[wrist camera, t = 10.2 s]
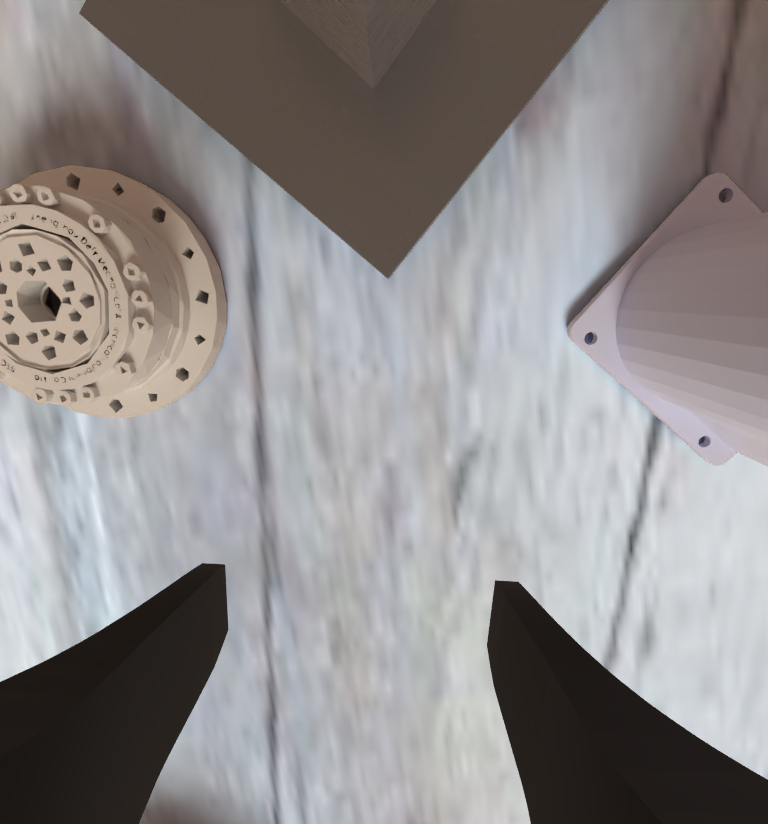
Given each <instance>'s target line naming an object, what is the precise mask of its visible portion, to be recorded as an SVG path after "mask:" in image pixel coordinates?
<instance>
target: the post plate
mask: <svg viewBox="0 0 768 824" xmlns="http://www.w3.org/2000/svg"><path fill="white" fill-rule="evenodd" d="M608 1H609V0H437V1H436V2H435V3H434V5H433V6H432V8H431V9H430V11H429V12H428V13H427V15H426V16H425V18H424V19H423V20H422V22H421V23H420V25H419V26H418V27H417V29H416V30H415V32H414V33H413V35H412V36H411V37H410V39H409V40H408V42H407V43H406V44H405V46H404V47H403V49H402V50H401V52H400V53H399V54H398V56H397V57H396V59H395V60H394V61H393V63H392V64H391V66H390V67H389V69H388V70H387V71H386V73H385V74H384V76H383V77H382V78H381V80H380V81H379V83H378V84H377V85H376V87H375V88H372V87H371V86H370V85H369V84H368V83H367V82H366V81H365V80H364V79H363V78H362V77H361V76H360V75H359V74H358V73H356V72H355V71H354V70H353V69H352V68H351V67H350V66H349V65H348V64H347V63H346V62H345V61H344V60H343V59H341V58H340V57H339V56H338V55H337V54H336V53H335V52H334V51H333V50H332V49H331V48H330V47H329V46H328V45H327V44H325V43H324V42H323V41H322V40H321V39H320V38H319V37H318V36H317V35H316V34H315V33H314V32H313V31H312V30H311V29H309V28H308V27H307V26H306V25H305V24H304V23H303V22H302V21H301V20H300V19H299V18H298V17H297V16H296V15H294V14H293V13H292V12H291V11H290V10H289V9H288V8H287V7H286V6H285V5H284V4H283V3H282V2H281V1H280V0H86V1H85V3H84V5H83V7H82V9H81V11H80V14H81V15H82V16H83V17H84V18H85V19H86V20H88V21H89V22H90V23H91V24H92V25H93V26H94V27H95V28H97V29H98V30H99V31H100V32H101V33H102V34H103V35H105V36H106V37H107V38H108V39H109V40H110V41H112V42H113V43H114V44H115V45H116V46H117V47H119V48H120V49H121V50H122V51H123V52H124V53H126V54H127V55H128V56H129V57H130V58H131V59H133V60H134V61H135V62H136V63H137V64H138V65H140V66H141V67H142V68H143V69H144V70H145V71H147V72H148V73H149V74H150V75H151V76H152V77H154V78H155V79H156V80H157V81H158V82H159V83H161V84H162V85H163V86H164V87H165V88H166V89H167V90H169V91H170V92H171V93H172V94H173V95H174V96H176V97H177V98H178V99H179V100H180V101H181V102H183V103H184V104H185V105H186V106H187V107H188V108H190V109H191V110H192V111H193V112H194V113H195V114H197V115H198V116H199V117H200V118H201V119H202V120H204V121H205V122H206V123H207V124H208V125H209V126H211V127H212V128H213V129H214V130H215V131H216V132H218V133H219V134H220V135H221V136H222V137H223V138H225V139H226V140H227V141H228V142H229V143H230V144H232V145H233V146H234V147H235V148H236V149H237V150H239V151H240V152H241V153H242V154H243V155H244V156H246V157H247V158H248V159H249V160H250V161H251V162H253V163H254V164H255V165H256V166H257V167H258V168H260V169H261V170H262V171H263V172H264V173H265V174H267V175H268V176H269V177H270V178H271V179H272V180H273V181H275V182H276V183H277V184H278V185H279V186H280V187H282V188H283V189H284V190H285V191H286V192H287V193H289V194H290V195H291V196H292V197H293V198H294V199H296V200H297V201H298V202H299V203H300V204H301V205H303V206H304V207H305V208H306V209H307V210H308V211H310V212H311V213H312V214H313V215H314V216H315V217H317V218H318V219H319V220H320V221H321V222H322V223H324V224H325V225H326V226H327V227H328V228H329V229H331V230H332V231H333V232H334V233H335V234H336V235H338V236H339V237H340V238H341V239H342V240H343V241H345V242H346V243H347V244H348V245H349V246H350V247H352V248H353V249H354V250H355V251H356V252H357V253H359V254H360V255H361V256H362V257H363V258H364V259H366V260H367V261H368V262H369V263H370V264H371V265H373V266H374V267H375V268H376V269H377V270H378V271H379V272H381V273H382V274H383V275H384V276H385V277H386V278H388V279H389V278H390V277H391V275H392V274H393V273H394V272H395V270H396V269H397V268H398V267H399V265H400V264H401V263H402V262H403V260H404V259H405V258H406V256H407V255H408V254H409V253H410V251H411V250H412V249H413V248H414V246H415V245H416V244H417V243H418V241H419V240H420V239H421V237H422V236H423V235H424V234H425V232H426V231H427V230H428V229H429V227H430V226H431V225H432V224H433V222H434V221H435V220H436V218H437V217H438V216H439V215H440V213H441V212H442V211H443V210H444V208H445V207H446V206H447V205H448V203H449V202H450V201H451V200H452V198H453V197H454V196H455V194H456V193H457V192H458V191H459V189H460V188H461V187H462V186H463V184H464V183H465V182H466V181H467V179H468V178H469V177H470V175H471V174H472V173H473V172H474V170H475V169H476V168H477V167H478V165H479V164H480V163H481V162H482V160H483V159H484V158H485V156H486V155H487V154H488V153H489V151H490V150H491V149H492V148H493V146H494V145H495V144H496V143H497V141H498V140H499V139H500V138H501V136H502V135H503V134H504V132H505V131H506V130H507V129H508V127H509V126H510V125H511V124H512V122H513V121H514V120H515V119H516V117H517V116H518V115H519V113H520V112H521V111H522V110H523V108H524V107H525V106H526V105H527V103H528V102H529V101H530V100H531V98H532V97H533V96H534V94H535V93H536V92H537V91H538V89H539V88H540V87H541V86H542V84H543V83H544V82H545V81H546V79H547V78H548V77H549V76H550V74H551V73H552V72H553V70H554V69H555V68H556V67H557V65H558V64H559V63H560V62H561V60H562V59H563V58H564V57H565V55H566V54H567V53H568V51H569V50H570V49H571V48H572V46H573V45H574V44H575V43H576V41H577V40H578V39H579V38H580V36H581V35H582V34H583V32H584V31H585V30H586V29H587V27H588V26H589V25H590V24H591V22H592V21H593V20H594V19H595V17H596V16H597V15H598V14H599V12H600V11H601V10H602V8H603V7H604V6H605V5H606V3H607V2H608Z"/></svg>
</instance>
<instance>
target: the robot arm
mask: <svg viewBox="0 0 768 824" xmlns="http://www.w3.org/2000/svg"><path fill="white" fill-rule="evenodd" d="M721 190H722V191H724V192H725V194H726V198H725V200H724V202H721V201H720V200H719V193H720V192H721ZM589 332H592V334H593V340H592V342H590V343H589V344H586V342H585V341H584V339H585V336H586V334H587V333H589ZM567 334H568V337H569V338H570V339H571V340H572V341H573V342H574V343H575V344H576V345H577V346H578V347H580V348H581V349H582V350H583V351H584V352H585V353H586V354H587V355H588V356H590V357H591V358H592V359H593V360H594V361H595V362H596V363H597V364H598V365H600V366H601V367H602V368H603V369H604V370H605V371H606V372H607V373H608V374H610V375H611V376H612V377H613V378H614V379H615V380H616V381H617V382H618V383H620V384H621V385H622V386H623V387H624V388H625V389H626V390H627V391H628V392H630V393H631V394H632V395H633V396H634V397H635V398H636V399H637V400H638V401H640V402H641V403H642V404H643V405H644V406H645V407H646V408H647V409H648V410H650V411H651V412H652V413H653V414H654V415H655V416H656V417H657V418H658V419H660V420H661V421H662V422H663V423H664V424H665V425H666V426H667V427H668V428H670V429H671V430H672V431H673V432H674V433H675V434H676V435H677V436H678V437H680V438H681V439H682V440H683V441H684V442H685V443H686V444H687V445H688V446H690V447H691V448H692V449H693V450H694V451H695V452H696V453H697V454H698V455H700V456H701V457H702V458H703V459H704V460H705V461H707V462H708V463H710V464H712V465H715V466H720V465H723V464H725V463H726V462H727V461H729V460H730V459H731V458H732V457H733V456H734V455H735V454H736V453H737V452H738V453H740V454H742V455H744V456H746V457H748V458H751V459H753V460H755V461H757V462H759V463H761V464H763V465H766V466H768V212H765V213H763V212H762V211H761V210H760V209H759V208H758V207H757V206H756V205H755V204H754V203H753V202H752V201H751V200H750V199H749V198H748V197H747V196H746V195H745V194H744V193H743V192H742V191H741V190H740V189H739V187H738V186H737V185H736V184H735V183H734V182H733V181H732V180H731V179H730V178H729V177H728V176H727V175H726V174H724V173H721V172H716V173H713V174H710V175H708V176H706V177H705V178H703V179H702V180H701V181H700V182H699V183H698V185H697V186H696V187H695V188H694V189H693V190H692V191H691V192H690V193H689V194H688V195H687V197H686V198H685V199H684V200H683V201H682V202H681V203H680V204H679V205H678V206H677V207H676V208H675V210H674V211H673V212H672V213H671V214H670V215H669V216H668V217H667V218H666V219H665V220H664V221H663V223H662V224H661V225H660V226H659V227H658V228H657V229H656V230H655V231H654V232H653V233H652V234H651V236H650V237H649V238H648V239H647V240H646V241H645V242H644V243H643V244H642V245H641V246H640V247H639V249H638V250H637V251H636V252H635V253H634V254H633V255H632V256H631V257H630V258H629V259H628V260H627V262H626V263H625V264H624V265H623V266H622V267H621V268H620V269H619V270H618V271H617V272H616V273H615V275H614V276H613V277H612V278H611V279H610V280H609V281H608V282H607V283H606V284H605V285H604V286H603V288H602V289H601V290H600V291H599V292H598V293H597V294H596V295H595V296H594V297H593V298H592V300H591V301H590V302H589V303H588V304H587V305H586V306H585V307H584V308H583V309H582V310H581V311H580V313H579V314H578V315H577V316H576V317H575V318H574V319H573V320H572V321H571V322H570V324H569V325H568V328H567ZM703 436H705V440H704V441H703V443H701V444H698V442H699V439H700V438H701V437H703ZM227 632H228V615H227V595H226V575H225V565H222V564H205V563H202V564H201V565H199V566H197V567H196V568H194V569H193V570H191V571H190V572H188V573H187V574H185V575H184V576H182V577H181V578H180V579H178V580H177V581H175V582H174V583H172V584H171V585H170V586H168V587H167V588H165V589H164V590H162V591H161V592H159V593H158V594H156V595H155V596H153V597H152V598H151V599H149V600H148V601H146V602H145V603H143V604H142V605H140V606H139V607H137V608H136V609H134V610H133V611H131V612H129V613H128V614H126V615H125V616H123V617H121V618H120V619H118V620H117V621H115V622H113V623H112V624H110V625H109V626H107V627H105V628H104V629H102V630H101V631H99V632H97V633H96V634H94V635H92V636H91V637H89V638H87V639H85V640H84V641H82V642H80V643H78V644H76V645H75V646H73V647H71V648H69V649H67V650H65V651H63V652H61V653H60V654H58V655H56V656H54V657H52V658H50V659H48V660H46V661H44V662H42V663H40V664H38V665H36V666H34V667H32V668H30V669H27V670H25V671H23V672H21V673H19V674H17V675H14V676H12V677H10V678H8V679H6V680H4V681H1V682H0V824H139V822H140V819H141V817H142V814H143V812H144V810H145V807H146V805H147V802H148V800H149V798H150V795H151V793H152V790H153V788H154V786H155V783H156V781H157V779H158V776H159V774H160V772H161V770H162V768H163V766H164V764H165V762H166V760H167V758H168V756H169V754H170V752H171V750H172V748H173V746H174V744H175V742H176V740H177V738H178V736H179V735H180V733H181V731H182V729H183V727H184V725H185V723H186V721H187V719H188V717H189V715H190V713H191V712H192V710H193V708H194V706H195V704H196V702H197V700H198V698H199V696H200V694H201V692H202V690H203V688H204V686H205V684H206V682H207V681H208V679H209V677H210V675H211V673H212V671H213V669H214V666H215V664H216V661H217V659H218V656H219V653H220V651H221V648H222V645H223V643H224V640H225V637H226V634H227ZM487 648H488V654H489V661H490V667H491V673H492V678H493V684H494V688H495V692H496V695H497V699H498V702H499V706H500V709H501V713H502V716H503V720H504V723H505V727H506V730H507V734H508V737H509V741H510V744H511V747H512V751H513V754H514V758H515V761H516V765H517V768H518V772H519V775H520V778H521V782H522V786H523V790H524V794H525V798H526V802H527V806H528V811H529V816H530V821H531V824H768V780H767V779H765V778H764V777H762V776H760V775H758V774H757V773H755V772H753V771H751V770H750V769H748V768H746V767H745V766H743V765H741V764H740V763H738V762H737V761H735V760H733V759H732V758H730V757H728V756H727V755H725V754H723V753H722V752H720V751H718V750H717V749H715V748H714V747H712V746H710V745H709V744H707V743H706V742H704V741H703V740H701V739H699V738H698V737H696V736H695V735H693V734H692V733H690V732H689V731H687V730H686V729H685V728H683V727H682V726H680V725H679V724H677V723H676V722H674V721H673V720H671V719H670V718H669V717H667V716H666V715H664V714H663V713H661V712H660V711H659V710H657V709H656V708H655V707H653V706H652V705H650V704H649V703H648V702H646V701H645V700H644V699H643V698H641V697H640V696H639V695H637V694H636V693H635V692H634V691H632V690H631V689H630V688H629V687H627V686H626V685H625V684H624V683H622V682H621V681H620V680H618V679H617V678H616V677H615V676H614V675H613V674H611V673H610V672H609V671H608V670H607V669H605V668H604V667H603V666H602V665H601V664H600V663H599V662H598V661H597V660H595V659H594V658H593V657H592V656H591V655H590V654H589V653H588V652H587V651H585V650H584V649H583V648H582V647H581V646H580V645H579V644H578V643H577V642H576V641H575V640H574V639H573V638H572V637H571V636H570V635H569V634H568V633H567V632H566V631H565V630H564V629H563V628H562V627H561V626H560V625H559V624H558V623H557V622H556V621H555V620H554V619H553V618H552V617H551V616H550V615H549V614H548V613H547V612H546V611H545V610H544V608H543V607H542V606H541V605H540V604H539V603H538V602H537V601H536V600H535V599H534V598H533V597H532V596H531V595H530V594H529V592H528V591H527V590H526V589H525V588H524V587H523V586H522V585H521V584H520V583H519V582H511V581H495V586H494V594H493V602H492V610H491V618H490V626H489V634H488V642H487Z"/></svg>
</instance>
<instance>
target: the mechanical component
mask: <svg viewBox="0 0 768 824" xmlns="http://www.w3.org/2000/svg"><path fill="white" fill-rule="evenodd" d="M207 293H208V294H209V297H208V301H207ZM226 321H227V302H226V296H225V291H224V286H223V281H222V275H221V270H220V268H219V266H218V264H217V262H216V259H215V257H214V255H213V253H212V251H211V249H210V247H209V245H208V243H207V241H206V239H205V238H204V236H203V235H202V234H201V232H200V231H199V230H198V228H197V227H196V226H195V224H194V223H193V222H192V220H191V219H190V218H189V217H188V216H187V215H186V214H185V213H184V212H183V211H182V210H181V209H180V208H178V207H177V206H176V205H175V204H174V203H173V202H172V201H171V200H170V199H168V198H167V197H165V196H163V195H162V194H160V193H158V192H157V191H155V190H153V189H151V188H150V187H148V186H146V185H145V184H143V183H141V182H138V181H136V180H134V179H131V178H129V177H126V176H124V175H122V174H119V173H117V172H115V171H112V170H105V169H98V168H91V167H84V166H77V165H68V166H64V167H59V168H55V169H51V170H46V171H42V172H37V173H33V174H31V175H30V176H28V177H27V178H25V179H24V180H22V181H21V182H20V183H18V184H13V185H12V186H11V187H10V188H5V189H2V190H0V381H2V382H3V383H4V384H6V385H7V386H9V387H11V388H13V389H15V390H17V391H18V392H20V393H22V394H24V395H26V396H28V397H32V399H33V400H34V401H35V402H36V403H42V404H43V403H47V402H48V403H52V404H60V405H63V406H65V407H67V408H69V409H71V410H74V411H76V412H80V413H84V414H88V415H93V416H97V417H113V418H130V417H134V416H137V415H141V414H145V413H149V412H152V411H156V410H159V409H161V408H163V407H165V406H167V405H169V404H171V403H173V402H174V401H176V400H178V399H179V398H181V397H183V396H184V395H186V394H187V393H189V392H191V391H192V390H193V389H194V388H195V387H196V386H197V385H198V383H199V382H200V381H201V380H202V379H203V378H204V376H205V375H206V374H207V373H208V372H209V371H210V369H211V368H212V366H213V364H214V361H215V359H216V357H217V355H218V353H219V351H220V349H221V346H222V342H223V338H224V334H225V330H226ZM188 371H189V372H188Z"/></svg>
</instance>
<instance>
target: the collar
mask: <svg viewBox="0 0 768 824" xmlns="http://www.w3.org/2000/svg"><path fill="white" fill-rule="evenodd" d="M280 1H281V2H282V3H283V4H284V5H285V6H286V7H287V8H288V9H289V10H290V11H291V12H292V13H293V14H294V15H296V16H297V17H298V18H299V19H300V20H301V21H302V22H303V23H304V24H305V25H306V26H307V27H308V28H309V29H311V30H312V31H313V32H314V33H315V34H316V35H317V36H318V37H319V38H320V39H321V40H322V41H323V42H324V43H325V44H327V45H328V46H329V47H330V48H331V49H332V50H333V51H334V52H335V53H336V54H337V55H338V56H339V57H340V58H341V59H343V60H344V61H345V62H346V63H347V64H348V65H349V66H350V67H351V68H352V69H353V70H354V71H355V72H356V73H358V74H359V75H360V76H361V77H362V78H363V79H364V80H365V81H366V82H367V83H368V84H369V85H370V86H371V87H372V88H375V87H376V85H377V84H378V83H379V81H380V80H381V78H382V77H383V76H384V74H385V73H386V71H387V70H388V69H389V67H390V66H391V64H392V63H393V61H394V60H395V59H396V57H397V56H398V54H399V53H400V52H401V50H402V49H403V47H404V46H405V44H406V43H407V42H408V40H409V39H410V37H411V36H412V35H413V33H414V32H415V30H416V29H417V27H418V26H419V25H420V23H421V22H422V20H423V19H424V18H425V16H426V15H427V13H428V12H429V11H430V9H431V8H432V6H433V5H434V3H435V2H436V1H437V0H280Z"/></svg>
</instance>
